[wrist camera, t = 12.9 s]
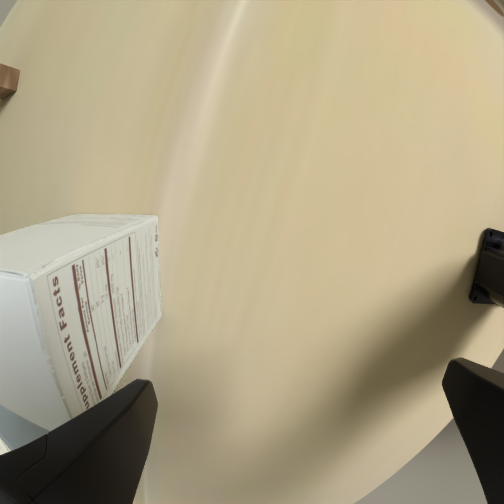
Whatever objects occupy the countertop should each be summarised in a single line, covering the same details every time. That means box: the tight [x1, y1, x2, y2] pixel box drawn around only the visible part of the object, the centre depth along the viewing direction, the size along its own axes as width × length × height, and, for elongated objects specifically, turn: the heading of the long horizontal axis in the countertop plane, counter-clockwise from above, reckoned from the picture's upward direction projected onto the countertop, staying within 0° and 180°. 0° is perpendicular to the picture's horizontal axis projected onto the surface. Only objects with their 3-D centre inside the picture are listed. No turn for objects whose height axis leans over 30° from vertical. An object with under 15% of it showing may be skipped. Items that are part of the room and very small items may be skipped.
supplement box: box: [0, 214, 162, 431], centre depth 13 cm, size 7×7×13 cm
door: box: [0, 405, 50, 451], centre depth 16 cm, size 16×2×10 cm, turn 11°
